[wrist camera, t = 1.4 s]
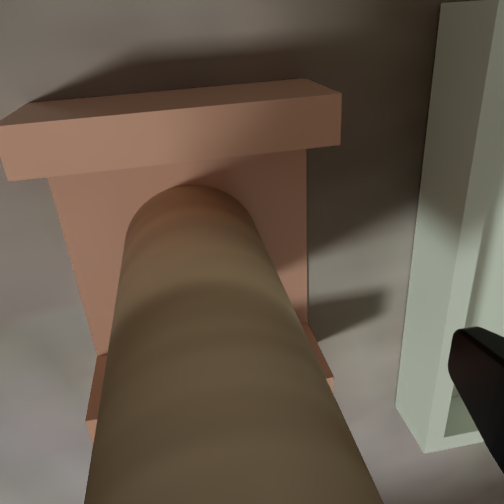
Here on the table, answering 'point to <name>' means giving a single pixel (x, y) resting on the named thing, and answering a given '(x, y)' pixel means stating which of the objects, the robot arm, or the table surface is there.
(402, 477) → the table surface
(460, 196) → the tray
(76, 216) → the cradle
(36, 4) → the table surface
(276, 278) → the dowel
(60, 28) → the table surface
